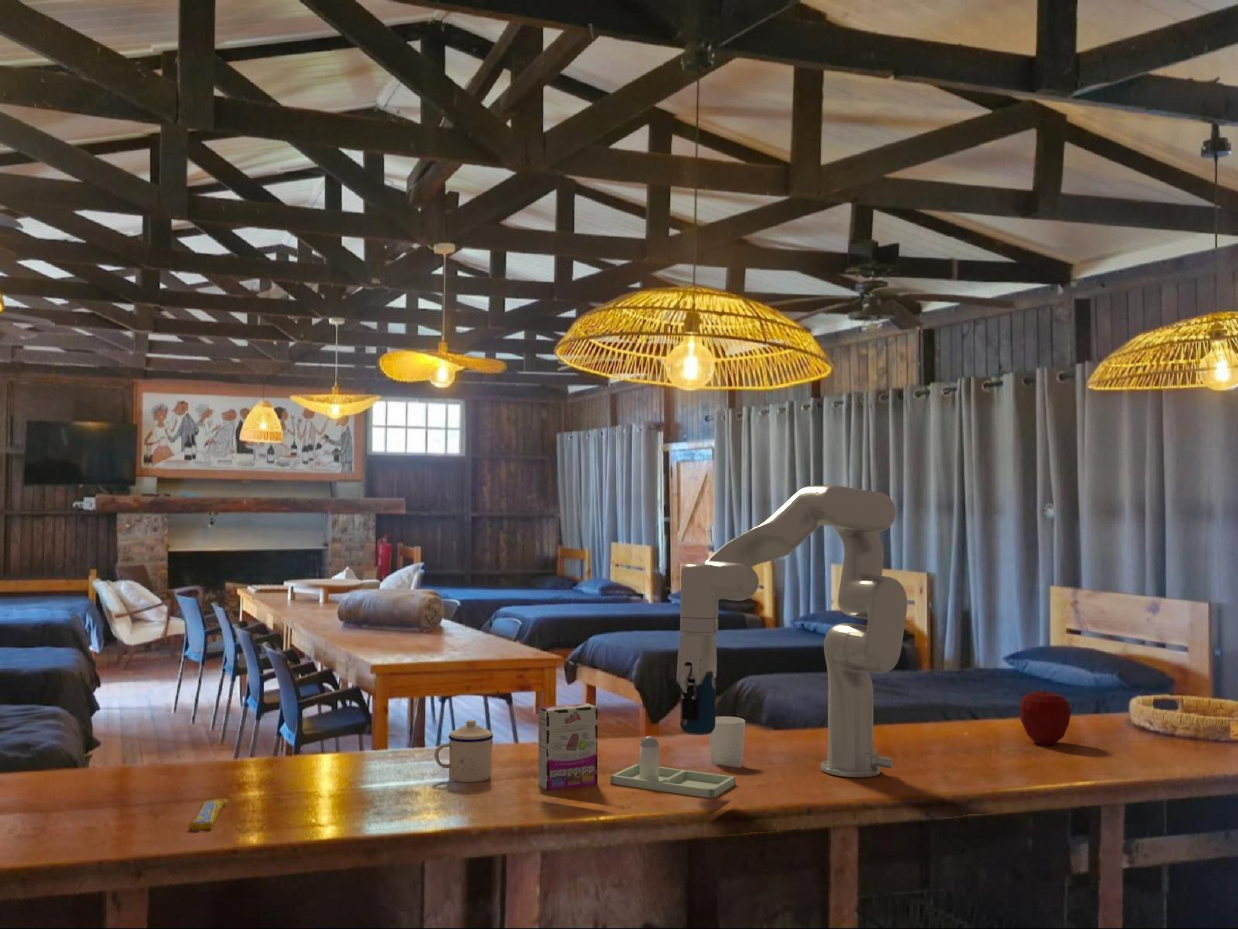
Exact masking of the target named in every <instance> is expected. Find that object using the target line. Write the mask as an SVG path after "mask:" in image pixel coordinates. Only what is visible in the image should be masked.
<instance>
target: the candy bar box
mask: <svg viewBox="0 0 1238 929" xmlns="http://www.w3.org/2000/svg"><path fill="white" fill-rule="evenodd" d="M598 712H599V711H598V706H597V705H593V704H592V703H589V702H587V703H586V702H585V703H574V704H564V705H563V704H562V705H553V706H544V707H543V706H542V707H538V786H539V787H540V788H543V789H544V790H546V791H552V790H553V791H554V790H555V791H556V790H563V789H564V790H565V789H572V788H580V787H589V786H596V785H597V786H598V714H599V713H598Z"/></svg>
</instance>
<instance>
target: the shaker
mask: <svg viewBox="0 0 1238 929" xmlns="http://www.w3.org/2000/svg"><path fill="white" fill-rule="evenodd" d="M638 755H639V758H638V759H639V761H638V762H639V763H638V764H639V779H645V780H652V781H659V767H660V745H659V741H658V740H657V738H656V737H654V736H652V735H646V736H645V737H643V738H642V739H641V740H640V743H639V754H638Z"/></svg>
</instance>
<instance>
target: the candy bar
mask: <svg viewBox="0 0 1238 929" xmlns="http://www.w3.org/2000/svg"><path fill="white" fill-rule="evenodd" d="M227 803H228V799H227V798H215V799H207V800H204V801H203V804H202V807H201V809H200V811H199V813H198V814H197V816H196V817H195V819H194V820H193V821H190V822H189V825H188V830H190V831H192V832H194V831H203V830H211V829H212V828H213V826H214V824H215V823H216V821H217V819H218V817H219V815H221V812H222V810H223V809H224V805H225V804H227Z"/></svg>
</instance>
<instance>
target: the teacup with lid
mask: <svg viewBox="0 0 1238 929" xmlns="http://www.w3.org/2000/svg"><path fill="white" fill-rule="evenodd" d="M493 738H494V736H493V733H492V731H491V730H489V729H486V728H483V727H482V726H480V725H477V721H476V720H474V719H469V720H467V721H466V722H465V725H462V726H460V727H458V728H457V729H455V730H454V729H453V730H452V731H450V732H449V734H448V740H449V742H448V743H441V744H439V745H438V746H437V747H436V748H435V750H434V759H435V762H436V764H437V765H438V766H439V767H441V768H442V769H448V778H449V779H450V780H451V781H454V782H459V783H479V782H485V781H487V780H489V779H491V777H492V753H493V752H492V750H493V749H492V748H493V746H492V744H493V743H492V742H493ZM445 748H449V751H448V752H449V753H448V754H449V757H448V758H449V764H447V763H442V761H441V760H440V757H439V753H440V751H441V750H443V749H445Z"/></svg>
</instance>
